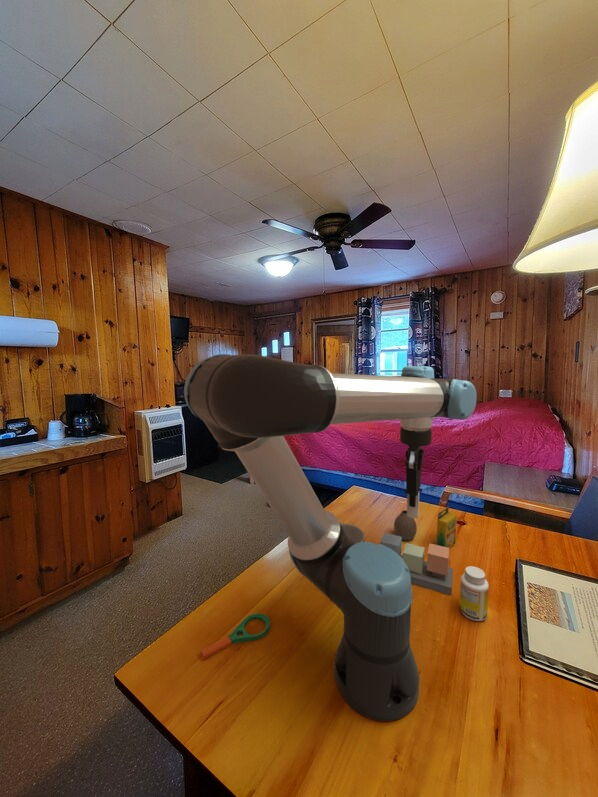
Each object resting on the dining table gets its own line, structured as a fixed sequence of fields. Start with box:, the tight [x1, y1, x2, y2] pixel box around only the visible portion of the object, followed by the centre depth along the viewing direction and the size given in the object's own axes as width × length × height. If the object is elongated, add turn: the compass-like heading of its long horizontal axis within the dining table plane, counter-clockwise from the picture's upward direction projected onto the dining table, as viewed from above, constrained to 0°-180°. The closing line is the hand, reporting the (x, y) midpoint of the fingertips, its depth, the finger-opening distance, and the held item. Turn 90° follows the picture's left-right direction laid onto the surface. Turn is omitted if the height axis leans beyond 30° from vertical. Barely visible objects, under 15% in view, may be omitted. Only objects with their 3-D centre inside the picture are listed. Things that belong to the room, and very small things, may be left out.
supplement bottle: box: [459, 565, 490, 622], centre depth 73 cm, size 6×6×10 cm
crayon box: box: [435, 506, 458, 550], centre depth 98 cm, size 7×3×12 cm, turn 131°
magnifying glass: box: [199, 612, 271, 660], centre depth 68 cm, size 15×6×2 cm, turn 125°
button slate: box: [379, 532, 403, 556], centre depth 89 cm, size 5×5×5 cm
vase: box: [393, 509, 418, 542], centre depth 103 cm, size 7×7×9 cm
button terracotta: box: [426, 543, 450, 576], centre depth 83 cm, size 5×5×5 cm
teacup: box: [340, 522, 366, 543], centre depth 94 cm, size 14×11×8 cm
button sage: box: [402, 542, 426, 574], centre depth 86 cm, size 5×5×5 cm
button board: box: [400, 554, 454, 596], centre depth 86 cm, size 8×19×6 cm, turn 62°
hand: (412, 516), depth 84 cm, fingers closed
